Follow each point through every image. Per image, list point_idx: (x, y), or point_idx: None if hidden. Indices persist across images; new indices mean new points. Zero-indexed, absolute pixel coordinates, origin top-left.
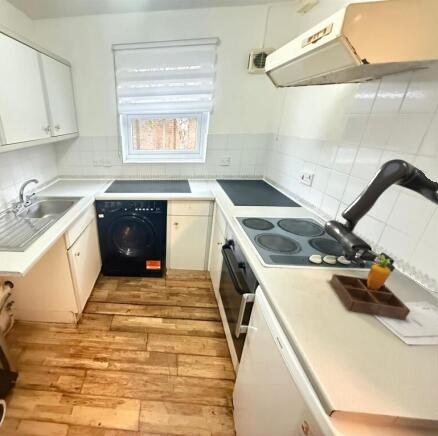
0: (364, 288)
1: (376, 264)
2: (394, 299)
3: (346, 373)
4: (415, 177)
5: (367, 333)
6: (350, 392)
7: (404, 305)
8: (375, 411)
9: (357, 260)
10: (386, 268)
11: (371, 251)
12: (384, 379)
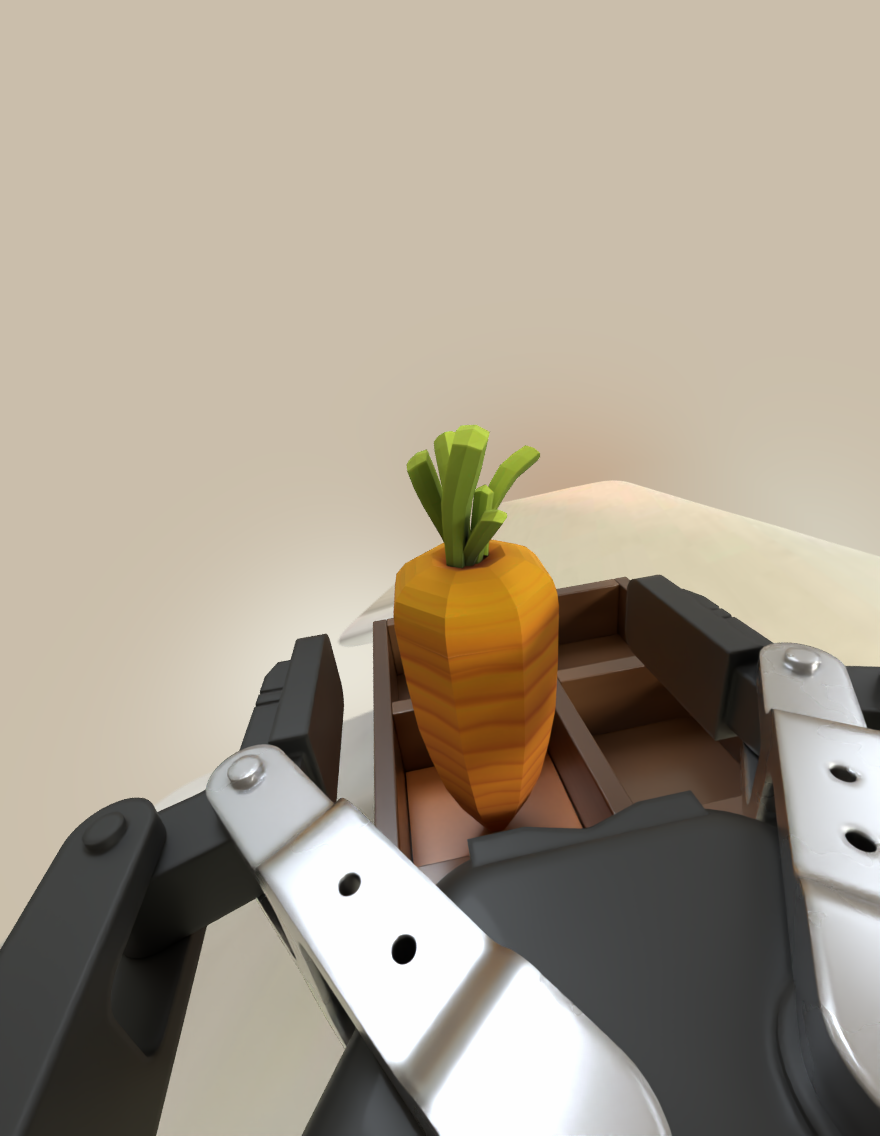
0: (566, 697)
1: (514, 572)
2: (392, 694)
3: (603, 503)
4: None
5: (555, 577)
6: (594, 491)
7: (380, 638)
8: (558, 490)
9: (740, 622)
10: (438, 547)
11: (509, 1099)
12: (535, 517)
